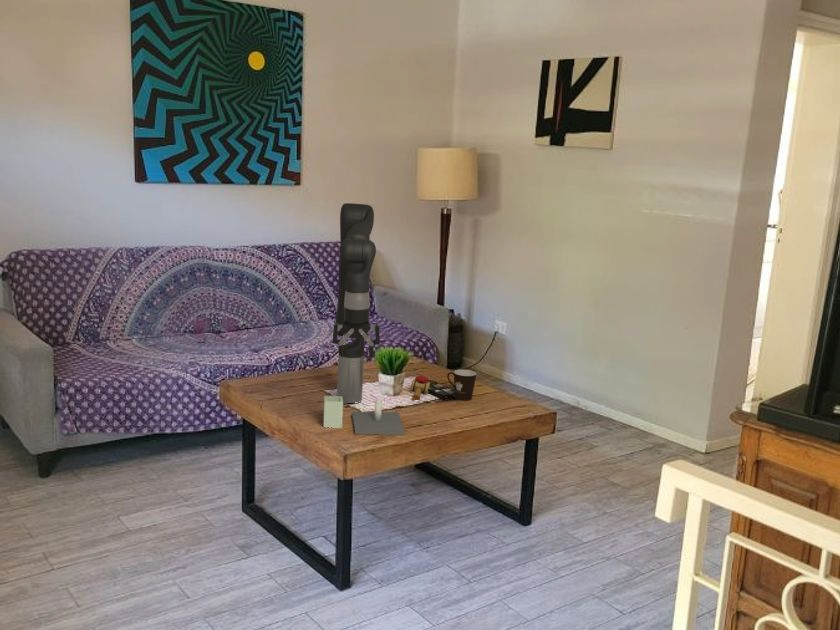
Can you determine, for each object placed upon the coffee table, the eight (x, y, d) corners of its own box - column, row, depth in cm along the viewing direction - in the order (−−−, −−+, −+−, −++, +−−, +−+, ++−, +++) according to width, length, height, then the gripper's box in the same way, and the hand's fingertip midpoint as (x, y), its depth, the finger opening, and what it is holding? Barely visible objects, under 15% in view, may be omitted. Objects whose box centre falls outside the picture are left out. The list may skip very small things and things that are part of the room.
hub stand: (352, 415, 276) (353, 390, 274) (397, 416, 279) (399, 391, 277) (355, 434, 259) (356, 407, 257) (404, 434, 261) (405, 408, 259)
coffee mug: (478, 400, 302) (480, 375, 300) (458, 402, 298) (460, 376, 296) (463, 391, 312) (465, 366, 310) (444, 393, 308) (446, 368, 306)
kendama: (428, 406, 296) (433, 386, 313) (425, 390, 294) (431, 371, 311) (407, 407, 297) (413, 387, 314) (405, 392, 295) (411, 372, 312)
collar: (323, 421, 269) (324, 396, 267) (341, 421, 270) (342, 396, 268) (323, 427, 263) (324, 401, 261) (342, 428, 264) (343, 402, 262)
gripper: (380, 303, 244) (379, 353, 248) (333, 301, 243) (333, 352, 247) (380, 309, 237) (379, 361, 241) (332, 308, 236) (331, 360, 240)
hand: (355, 356), depth 244 cm, fingers open, 8 cm apart
